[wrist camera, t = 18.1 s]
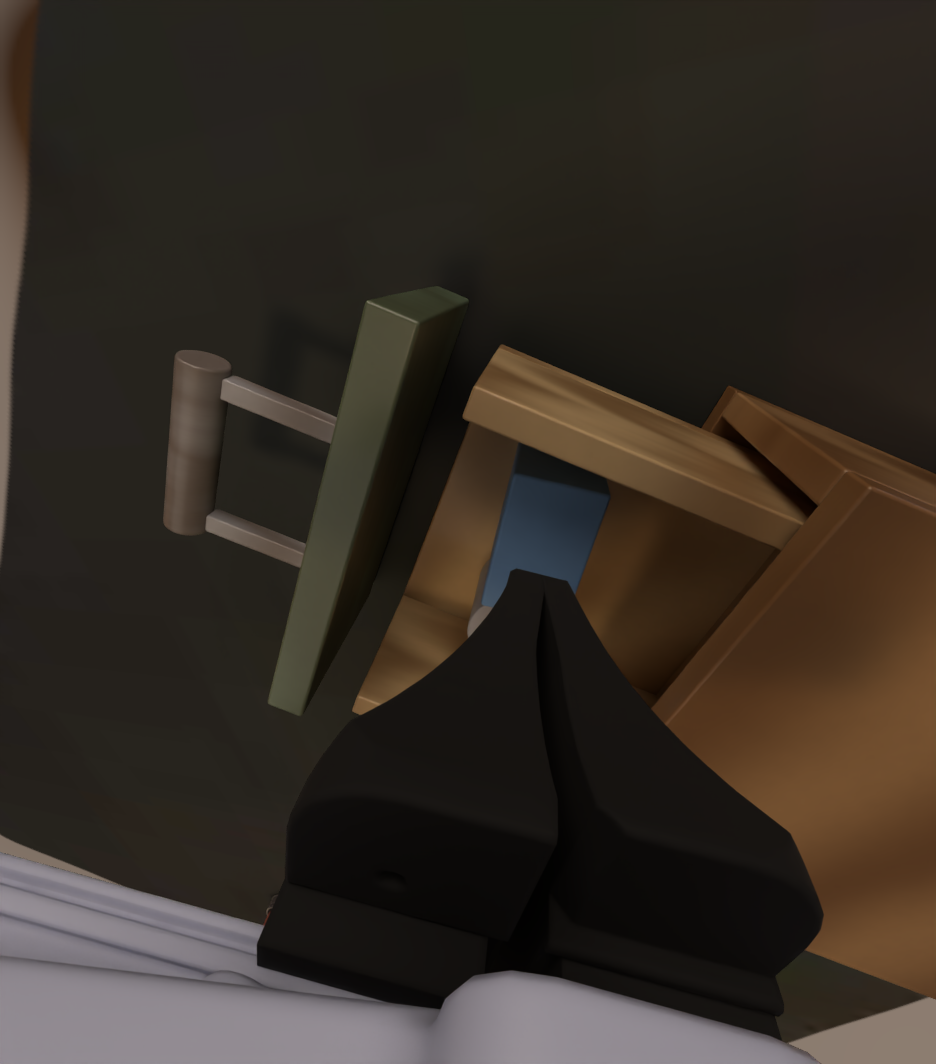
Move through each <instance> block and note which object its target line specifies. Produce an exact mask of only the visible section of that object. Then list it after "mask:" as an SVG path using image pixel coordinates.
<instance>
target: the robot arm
mask: <svg viewBox="0 0 936 1064" xmlns="http://www.w3.org/2000/svg"><path fill="white" fill-rule="evenodd" d="M823 917H824V913H823V910H822V907H821V904H820V901H819V898H818V895H817V893H816V890H815V888H814V886H813V883H812V881H811V878H810V876H809V873H808V871H807V868H806V866H805V863H804V861H803V859H802V857H801V855H800V852H799V850H798V848H797V846H796V844H795V842H794V840H793V838H792V836H791V833H790V832H788V831H787V830H786V829H785V828H783V827H782V826H781V825H780V824H778V823H777V822H776V821H774V820H773V819H772V818H771V817H769V816H768V815H767V814H765V813H764V812H763V811H762V810H760V809H759V808H758V807H756V806H755V805H754V804H753V803H751V802H750V801H749V800H747V799H746V798H745V797H744V796H742V795H741V794H740V793H738V792H737V791H736V790H735V789H734V788H732V787H731V786H730V785H729V784H728V783H727V782H725V781H724V780H723V779H722V778H721V777H720V776H719V775H718V774H716V773H715V772H714V771H713V770H712V769H711V768H710V767H708V766H707V765H706V764H705V763H704V762H703V761H702V760H701V759H700V758H699V757H697V756H696V755H695V754H694V753H693V752H692V751H691V750H690V749H689V748H688V747H687V746H686V745H685V744H684V743H683V742H682V741H681V740H680V739H679V738H678V737H677V736H676V735H675V734H674V733H673V732H672V731H671V730H670V729H669V728H668V727H667V726H666V725H665V724H664V723H663V722H662V721H661V719H660V718H659V717H658V716H657V715H656V714H655V713H654V712H653V711H652V710H651V708H650V707H649V706H648V705H647V704H646V702H645V701H644V700H643V699H642V698H641V696H640V695H639V694H638V693H637V692H636V690H635V689H634V688H633V687H632V685H631V684H630V683H629V682H628V680H627V679H626V678H625V676H624V675H623V674H622V672H621V671H620V669H619V668H618V667H617V665H616V664H615V662H614V661H613V659H612V658H611V656H610V655H609V654H608V652H607V651H606V649H605V647H604V646H603V644H602V643H601V641H600V639H599V637H598V636H597V634H596V632H595V631H594V629H593V627H592V626H591V624H590V622H589V620H588V619H587V617H586V615H585V613H584V611H583V609H582V607H581V605H580V604H579V602H578V600H577V598H576V596H575V594H574V592H573V590H572V588H571V586H570V584H569V583H568V581H566V580H562V579H558V578H553V577H549V576H545V575H541V574H537V573H533V572H529V571H525V570H521V569H517V568H516V569H514V570H512V571H510V574H509V578H508V581H507V585H506V587H505V589H504V591H503V593H502V594H501V596H500V598H499V599H498V601H497V602H496V604H495V605H494V607H493V608H492V610H491V611H490V613H489V614H488V615H487V617H486V618H485V619H484V620H483V621H482V623H481V624H480V625H479V626H478V627H477V629H476V630H475V631H474V632H473V633H472V634H471V635H470V637H469V638H468V639H467V640H466V641H465V642H464V643H463V644H462V645H461V646H460V647H459V648H458V649H457V650H456V651H455V652H454V653H453V654H451V655H450V656H449V657H448V658H447V659H446V660H444V661H443V662H442V663H441V664H440V665H439V666H437V667H436V668H435V669H434V670H433V671H431V672H430V673H429V674H427V675H426V676H425V677H423V678H422V679H421V680H419V681H417V682H416V683H414V684H413V685H411V686H410V687H408V688H407V689H405V690H404V691H402V692H401V693H399V694H398V695H396V696H395V697H393V698H392V699H390V700H388V701H386V702H385V703H383V704H381V705H379V706H377V707H375V708H373V709H371V710H369V711H367V712H366V713H364V714H362V715H360V716H358V717H356V718H354V719H352V720H350V722H349V723H348V724H347V725H346V726H345V727H344V729H343V730H342V731H341V732H340V733H339V735H338V736H337V737H336V738H335V740H334V741H333V742H332V743H331V745H330V746H329V747H328V749H327V750H326V751H325V753H324V754H323V755H322V757H321V758H320V760H319V761H318V763H317V764H316V766H315V768H314V769H313V771H312V772H311V774H310V776H309V777H308V779H307V781H306V783H305V785H304V787H303V789H302V791H301V793H300V795H299V797H298V799H297V801H296V804H295V806H294V808H293V810H292V812H291V814H290V818H289V822H288V825H287V835H286V864H285V880H284V882H283V884H282V887H281V889H280V891H279V894H278V896H277V898H276V900H275V903H274V905H273V907H272V910H271V912H270V914H269V917H268V919H267V921H266V923H265V926H264V925H260V924H257V923H253V922H249V921H246V920H242V919H239V918H235V917H231V916H228V915H224V914H221V913H217V912H214V911H210V910H206V909H203V908H199V907H196V906H192V905H188V904H185V903H181V902H178V901H174V900H170V899H167V898H163V897H160V896H156V895H152V894H149V893H145V892H142V891H138V890H135V889H131V888H127V887H124V886H120V885H117V884H113V883H109V882H106V881H102V880H98V879H95V878H91V877H88V876H84V875H81V874H77V873H73V872H70V871H66V870H63V869H59V868H56V867H51V866H48V865H44V864H41V863H38V862H34V861H30V860H27V859H23V858H20V857H16V856H12V855H9V854H5V853H2V852H0V1064H821V1063H819V1062H818V1061H817V1060H816V1059H815V1058H814V1057H812V1056H811V1055H810V1054H809V1053H808V1052H806V1051H803V1050H801V1049H799V1048H796V1047H794V1046H792V1045H790V1044H787V1043H785V1042H783V1041H782V1039H781V1036H780V1032H779V1029H778V1026H777V1022H776V1019H775V1016H778V1017H779V1016H780V1015H781V1014H783V1012H784V1003H783V1000H782V997H781V993H780V990H779V987H778V984H777V981H776V977H775V976H776V975H777V974H778V973H779V972H780V971H781V970H782V969H784V968H785V967H786V966H787V965H788V964H789V963H790V962H792V961H793V960H794V959H795V958H796V957H797V956H798V955H799V954H801V953H802V952H803V951H804V950H805V949H806V948H807V947H808V946H809V945H810V944H811V942H812V941H813V940H814V939H815V937H816V936H817V935H818V933H819V932H820V930H821V927H822V922H823Z"/></svg>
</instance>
